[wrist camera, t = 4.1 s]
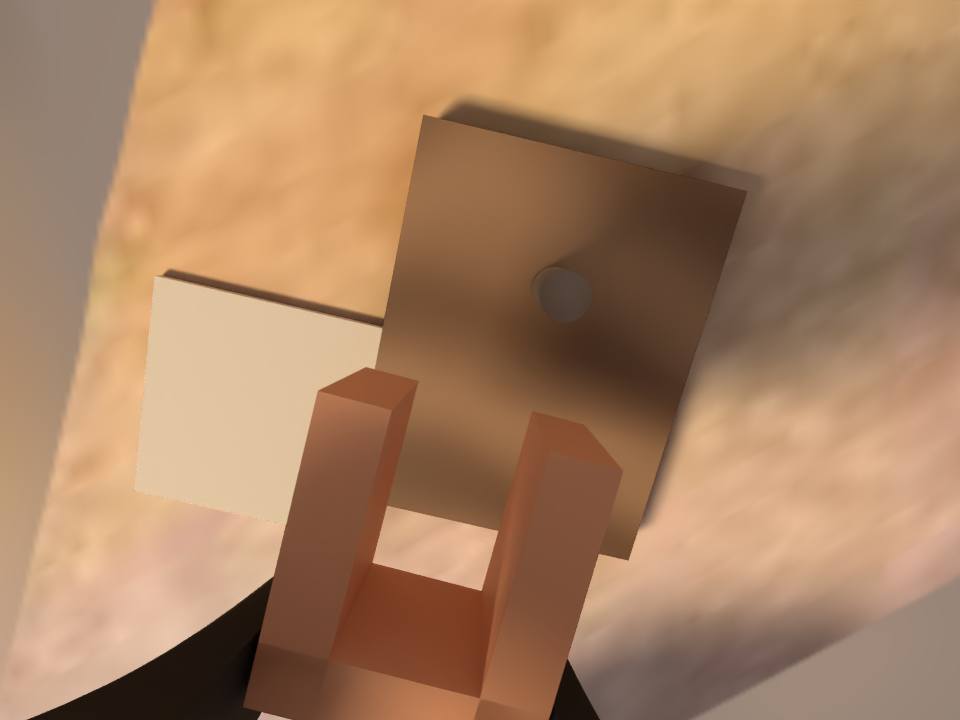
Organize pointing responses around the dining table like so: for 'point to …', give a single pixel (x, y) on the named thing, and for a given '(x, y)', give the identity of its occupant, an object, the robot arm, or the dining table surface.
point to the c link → (418, 599)
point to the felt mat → (236, 394)
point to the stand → (543, 313)
